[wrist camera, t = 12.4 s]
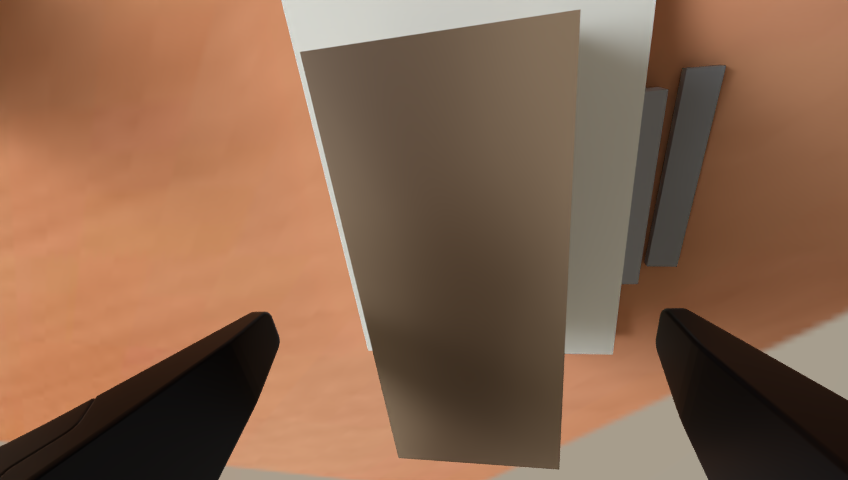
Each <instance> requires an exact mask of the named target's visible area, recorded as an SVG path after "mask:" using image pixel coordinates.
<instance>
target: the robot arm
mask: <svg viewBox="0 0 848 480" xmlns="http://www.w3.org/2000/svg"><path fill="white" fill-rule="evenodd" d="M279 343H280V339H279V335H278V332H277V329H276V327H275V324H274V321H273V319H272V316H271V315H270V314H269V313H268V312H251V313H249V314H247V315H246V316H244V317H242V318H240V319H238V320H236V321H235V322H233V323H231V324H229V325H227V326H225V327H223V328H222V329H220V330H218V331H216V332H214V333H212V334H211V335H209V336H207V337H205V338H203V339H201V340H200V341H198V342H196V343H194V344H192V345H190V346H188V347H187V348H185V349H183V350H181V351H179V352H177V353H176V354H174V355H172V356H170V357H168V358H166V359H165V360H163V361H161V362H159V363H157V364H155V365H153V366H152V367H150V368H148V369H146V370H144V371H142V372H141V373H139V374H137V375H135V376H133V377H131V378H130V379H128V380H126V381H124V382H122V383H120V384H118V385H117V386H115V387H113V388H111V389H109V390H107V391H106V392H104V393H102V394H100V395H98V396H97V397H96V398H95V399H94V398H93V399H91V400H89V401H87V402H85V403H83V404H82V405H80V406H78V407H76V408H74V409H72V410H70V411H69V412H67V413H65V414H63V415H61V416H59V417H57V418H55V419H53V420H52V421H50V422H48V423H46V424H44V425H42V426H40V427H38V428H36V429H34V430H32V431H30V432H28V433H26V434H24V435H22V436H20V437H18V438H16V439H14V440H12V441H10V442H8V443H7V444H5V445H2V446H0V480H218V479H219V477H220V475H221V473H222V471H223V469H224V467H225V465H226V463H227V461H228V459H229V457H230V455H231V453H232V452H233V450H234V448H235V446H236V444H237V442H238V440H239V438H240V436H241V434H242V432H243V430H244V428H245V426H246V424H247V422H248V420H249V418H250V416H251V414H252V412H253V410H254V408H255V405H256V403H257V401H258V399H259V396H260V394H261V392H262V389H263V386H264V384H265V381H266V379H267V376H268V373H269V371H270V368H271V366H272V363H273V361H274V358H275V355H276V353H277V350H278V348H279ZM656 348H657V352H658V355H659V358H660V361H661V364H662V367H663V370H664V373H665V376H666V379H667V382H668V385H669V388H670V391H671V394H672V397H673V400H674V402H675V405H676V409H677V411H678V414H679V417H680V419H681V422H682V424H683V426H684V429H685V431H686V433H687V435H688V437H689V439H690V441H691V444H692V446H693V448H694V450H695V452H696V454H697V457H698V459H699V461H700V463H701V465H702V467H703V469H704V471H705V474H706V476H707V478H708V480H848V400H846V399H845V398H843V397H841V396H839V395H838V394H836V393H834V392H832V391H831V390H829V389H827V388H825V387H823V386H822V385H820V384H818V383H816V382H815V381H813V380H811V379H809V378H807V377H806V376H804V375H802V374H800V373H799V372H797V371H795V370H793V369H792V368H790V367H788V366H786V365H785V364H783V363H781V362H779V361H778V360H776V359H774V358H772V357H770V356H769V355H767V354H765V353H763V352H762V351H760V350H758V349H756V348H755V347H753V346H751V345H749V344H748V343H746V342H744V341H742V340H740V339H739V338H737V337H735V336H733V335H732V334H730V333H728V332H726V331H725V330H723V329H721V328H719V327H718V326H716V325H714V324H712V323H710V322H709V321H707V320H705V319H703V318H702V317H700V316H698V315H696V314H695V313H693V312H691V311H689V310H687V309H684V308H667V309H664V310H663V311H662V312H661V315H660V320H659V325H658V330H657V336H656Z"/></svg>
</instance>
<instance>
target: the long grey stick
mask: <svg viewBox="0 0 848 480" xmlns="http://www.w3.org/2000/svg"><path fill="white" fill-rule="evenodd" d="M667 95H668V89H665V88H661V87H651V88H645V95H644V104H643V112H642V120H641V128H640V136H639V144H638V153H637V161H636V169H635V177H634V185H633V193H632V202H631V210H630V218H629V226H628V234H627V243H626V251H625V259H624V267H623V275H622V283H621V284H638V280H639V274H640V267H641V261H642V255H643V248H644V242H645V236H646V229H647V223H648V216H649V210H650V204H651V197H652V191H653V185H654V178H655V172H656V166H657V159H658V153H659V146H660V140H661V134H662V127H663V121H664V115H665V108H666V102H667Z"/></svg>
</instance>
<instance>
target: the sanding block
mask: <svg viewBox="0 0 848 480" xmlns="http://www.w3.org/2000/svg"><path fill="white" fill-rule="evenodd" d="M580 11H581V9H580V10H573V11H566V12H560V13H553V14H547V15H540V16H533V17H527V18H520V19H514V20H507V21H500V22H494V23H487V24H481V25H474V26H467V27H461V28H454V29H448V30H441V31H434V32H428V33H421V34H415V35H408V36H401V37H395V38H388V39H382V40H375V41H368V42H362V43H355V44H349V45H342V46H335V47H329V48H322V49H316V50H309V51H302V52H300V55H301V59H302V63H303V67H304V71H305V76H306V80H307V84H308V88H309V92H310V96H311V100H312V104H313V108H314V113H315V117H316V121H317V125H318V129H319V133H320V137H321V141H322V145H323V149H324V154H325V158H326V162H327V166H328V170H329V174H330V178H331V182H332V186H333V191H334V195H335V199H336V203H337V207H338V211H339V215H340V219H341V223H342V227H343V232H344V236H345V240H346V244H347V248H348V252H349V256H350V260H351V264H352V269H353V273H354V277H355V281H356V285H357V289H358V293H359V297H360V301H361V305H362V310H363V314H364V318H365V322H366V326H367V330H368V334H369V338H370V342H371V346H372V351H373V355H374V359H375V363H376V367H377V371H378V375H379V379H380V383H381V388H382V392H383V396H384V400H385V404H386V408H387V412H388V416H389V420H390V424H391V429H392V433H393V437H394V441H395V445H396V449H397V453H398V457H399V458H407V459H421V460H435V461H449V462H463V463H477V464H491V465H504V466H518V467H532V468H546V469H559V462H560V440H561V419H562V397H563V376H564V355H565V333H566V312H567V290H568V269H569V247H570V226H571V204H572V183H573V161H574V140H575V118H576V97H577V76H578V54H579V33H580Z"/></svg>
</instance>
